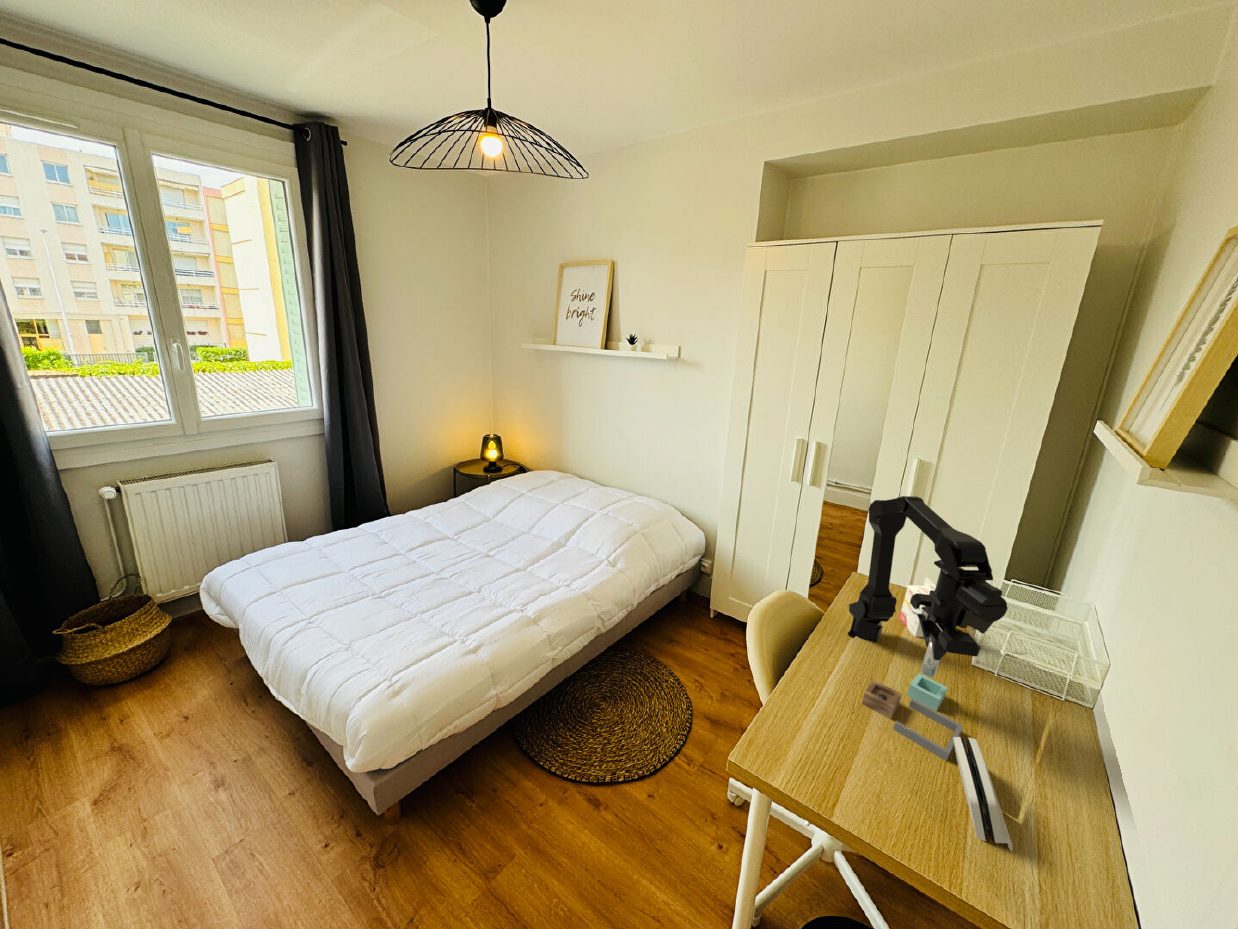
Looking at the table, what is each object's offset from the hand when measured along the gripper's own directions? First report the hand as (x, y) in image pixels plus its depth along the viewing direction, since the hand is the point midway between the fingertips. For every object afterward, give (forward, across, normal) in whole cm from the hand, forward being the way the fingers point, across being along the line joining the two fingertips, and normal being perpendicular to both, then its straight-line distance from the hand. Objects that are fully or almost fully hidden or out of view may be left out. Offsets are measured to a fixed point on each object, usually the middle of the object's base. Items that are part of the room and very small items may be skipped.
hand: (933, 655), depth 106 cm
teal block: (+13, +1, -1) cm, 13 cm away
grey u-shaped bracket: (+12, -10, +3) cm, 16 cm away
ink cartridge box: (+13, +30, -10) cm, 35 cm away
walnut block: (+13, -4, +10) cm, 17 cm away
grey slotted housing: (+13, -24, 0) cm, 28 cm away
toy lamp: (+13, +26, -22) cm, 37 cm away
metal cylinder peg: (+5, 0, 0) cm, 5 cm away
